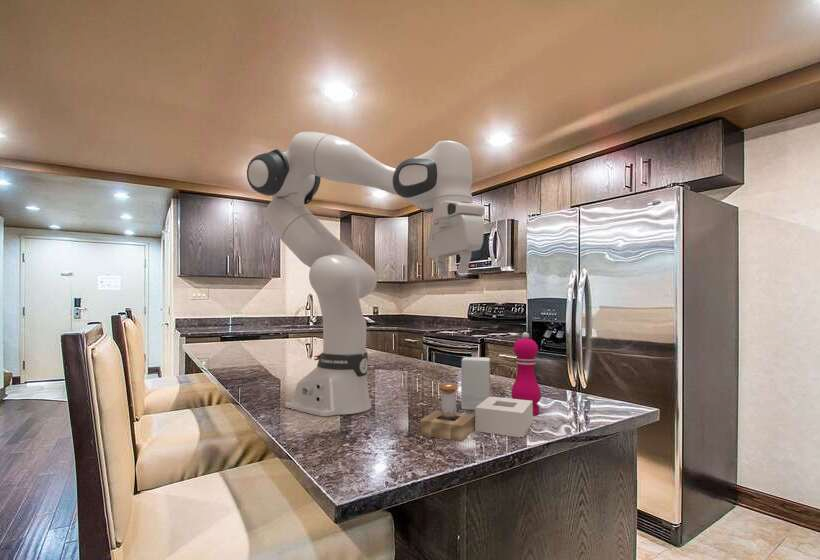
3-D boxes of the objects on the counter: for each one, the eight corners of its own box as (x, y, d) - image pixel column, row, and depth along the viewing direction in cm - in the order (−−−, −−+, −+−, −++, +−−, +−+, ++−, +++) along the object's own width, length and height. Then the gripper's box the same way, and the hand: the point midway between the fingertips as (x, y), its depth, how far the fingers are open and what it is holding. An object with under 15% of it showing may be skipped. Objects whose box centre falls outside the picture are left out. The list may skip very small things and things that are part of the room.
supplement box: (489, 411, 107) (489, 360, 108) (460, 409, 109) (460, 359, 110) (490, 404, 115) (490, 357, 115) (462, 402, 116) (462, 356, 117)
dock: (475, 431, 90) (475, 407, 90) (489, 417, 101) (489, 396, 101) (523, 437, 86) (522, 412, 86) (532, 422, 97) (532, 400, 97)
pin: (436, 433, 89) (436, 384, 89) (443, 428, 92) (443, 381, 93) (453, 435, 87) (453, 386, 88) (459, 430, 90) (459, 383, 91)
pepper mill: (517, 407, 111) (517, 330, 112) (545, 411, 107) (544, 332, 108) (506, 413, 105) (506, 332, 106) (535, 417, 101) (534, 333, 102)
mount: (420, 434, 87) (420, 420, 88) (436, 423, 96) (436, 410, 96) (461, 441, 84) (462, 425, 84) (475, 429, 92) (474, 415, 92)
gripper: (421, 220, 104) (421, 277, 103) (461, 202, 84) (461, 271, 84) (444, 222, 106) (444, 277, 105) (489, 205, 87) (489, 272, 86)
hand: (452, 275), depth 94 cm, fingers open, 8 cm apart
